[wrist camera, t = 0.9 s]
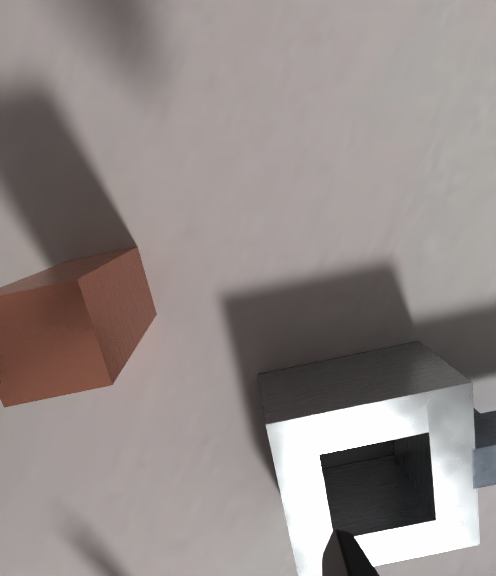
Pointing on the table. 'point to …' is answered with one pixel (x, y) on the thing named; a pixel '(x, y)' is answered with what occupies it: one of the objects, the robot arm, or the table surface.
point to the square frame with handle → (385, 470)
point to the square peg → (72, 326)
